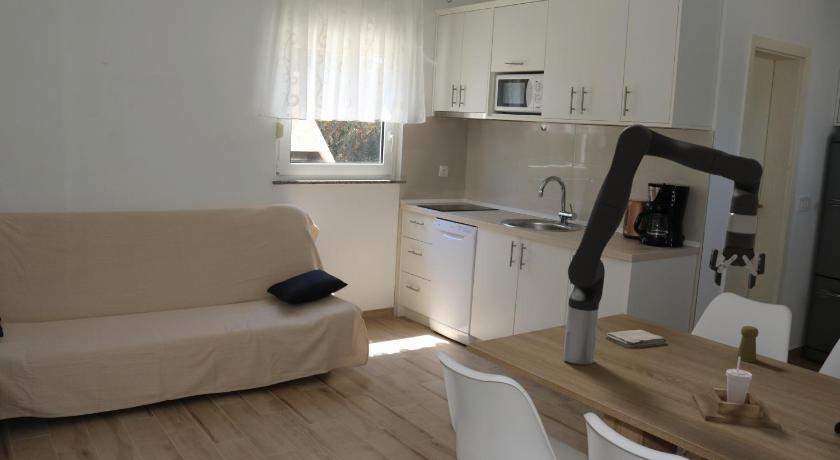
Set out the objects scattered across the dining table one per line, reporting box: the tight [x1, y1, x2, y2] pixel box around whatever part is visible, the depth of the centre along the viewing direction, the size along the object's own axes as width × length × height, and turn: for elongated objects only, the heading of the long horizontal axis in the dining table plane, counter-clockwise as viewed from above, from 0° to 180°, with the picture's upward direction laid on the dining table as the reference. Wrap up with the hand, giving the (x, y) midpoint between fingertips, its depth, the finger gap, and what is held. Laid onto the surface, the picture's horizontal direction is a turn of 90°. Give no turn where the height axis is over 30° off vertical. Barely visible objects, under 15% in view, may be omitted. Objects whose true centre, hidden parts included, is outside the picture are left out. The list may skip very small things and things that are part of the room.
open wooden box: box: [691, 387, 781, 430], centre depth 192 cm, size 18×16×4 cm
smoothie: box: [725, 357, 753, 404], centre depth 191 cm, size 6×6×14 cm
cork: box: [735, 325, 759, 363], centre depth 237 cm, size 6×6×11 cm
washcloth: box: [605, 329, 667, 349], centre depth 251 cm, size 12×18×3 cm, turn 118°
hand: (734, 286), depth 205 cm, fingers open, 8 cm apart
